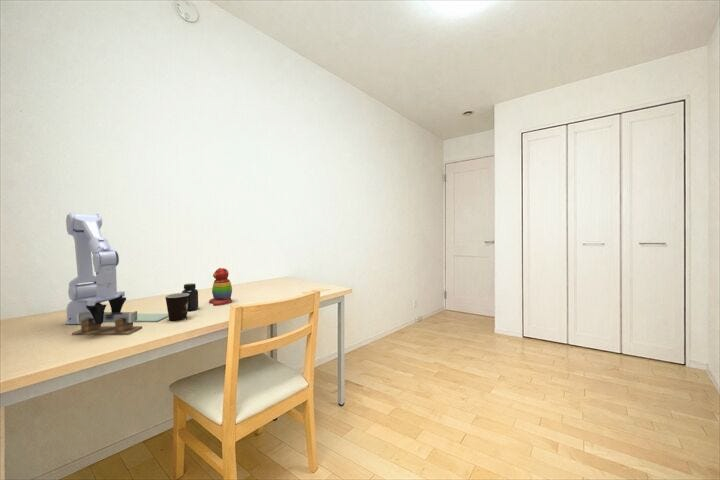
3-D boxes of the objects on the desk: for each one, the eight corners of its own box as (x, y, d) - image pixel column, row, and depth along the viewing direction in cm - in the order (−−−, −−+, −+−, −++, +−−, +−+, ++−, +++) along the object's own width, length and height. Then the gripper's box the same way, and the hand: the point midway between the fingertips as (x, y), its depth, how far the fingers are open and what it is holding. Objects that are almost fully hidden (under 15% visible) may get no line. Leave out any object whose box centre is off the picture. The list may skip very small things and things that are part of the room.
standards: (71, 334, 109) (71, 320, 108) (89, 328, 116) (88, 314, 115) (128, 334, 109) (127, 320, 109) (142, 328, 116) (141, 314, 116)
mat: (102, 322, 123) (102, 320, 123) (121, 315, 133) (121, 313, 133) (157, 322, 123) (157, 320, 123) (172, 315, 133) (172, 313, 133)
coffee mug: (178, 322, 123) (178, 298, 123) (160, 321, 125) (160, 297, 124) (199, 314, 134) (198, 292, 134) (182, 313, 136) (182, 291, 136)
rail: (77, 322, 110) (76, 313, 110) (85, 320, 114) (85, 311, 113) (130, 322, 111) (130, 313, 110) (137, 319, 114) (137, 311, 114)
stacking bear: (207, 302, 156) (207, 268, 155) (228, 299, 163) (227, 266, 162) (214, 306, 148) (214, 270, 147) (235, 302, 155) (235, 268, 154)
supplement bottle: (201, 308, 143) (200, 283, 143) (186, 312, 138) (186, 286, 137) (193, 306, 147) (192, 282, 147) (178, 310, 141) (178, 284, 141)
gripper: (101, 287, 104) (102, 326, 105) (132, 280, 119) (133, 314, 119) (80, 287, 104) (81, 326, 105) (113, 280, 119) (114, 314, 119)
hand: (107, 320), depth 112 cm, fingers open, 7 cm apart
